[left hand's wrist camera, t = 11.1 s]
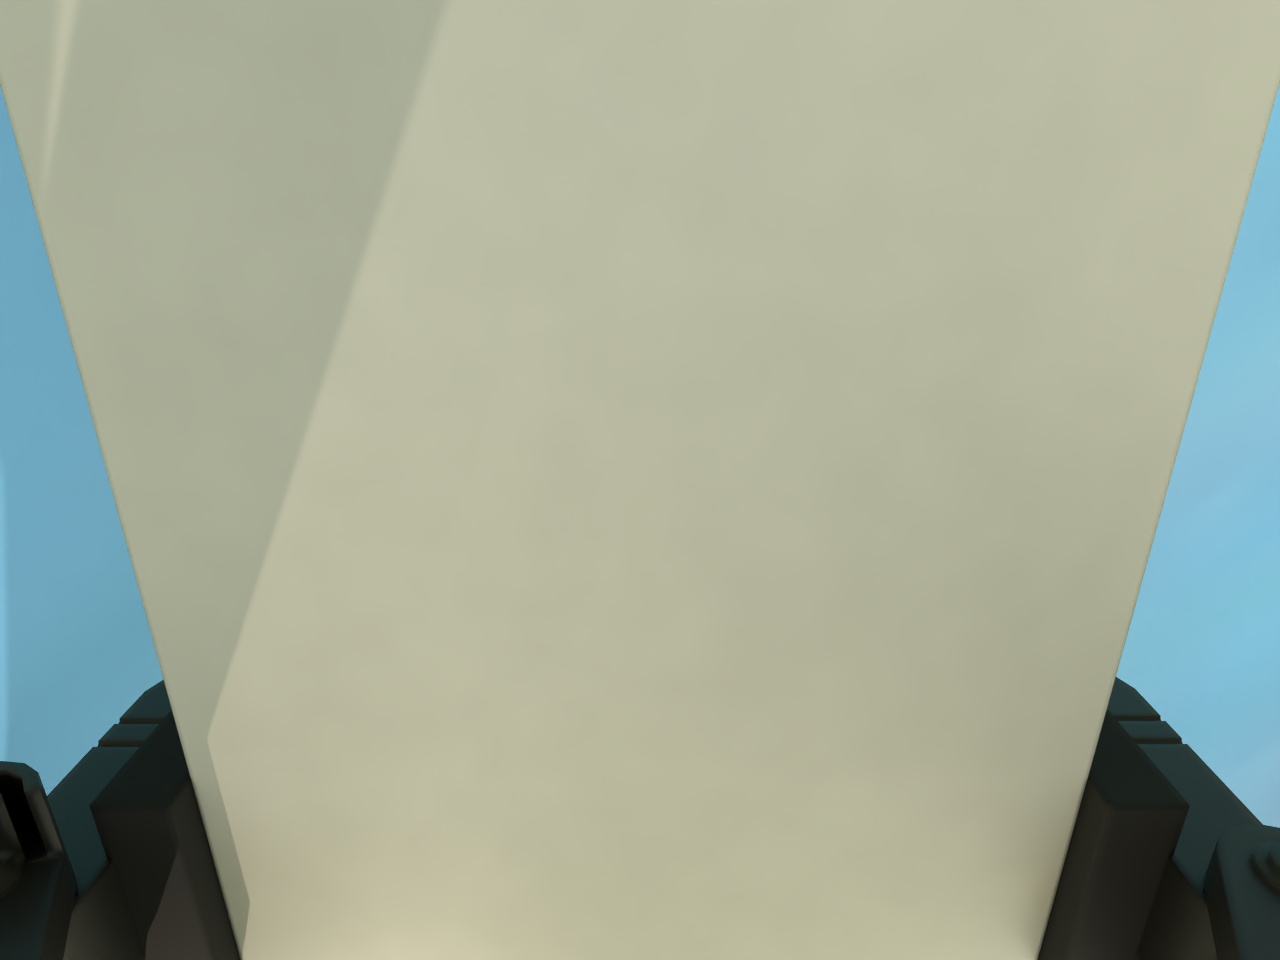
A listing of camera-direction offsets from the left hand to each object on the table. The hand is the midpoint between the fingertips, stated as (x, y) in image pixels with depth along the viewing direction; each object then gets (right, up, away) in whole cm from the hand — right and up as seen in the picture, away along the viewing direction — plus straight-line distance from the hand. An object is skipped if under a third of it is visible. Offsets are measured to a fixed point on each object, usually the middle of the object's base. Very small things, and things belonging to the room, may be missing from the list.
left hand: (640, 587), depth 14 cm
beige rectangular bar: (0, +27, -11) cm, 29 cm away
